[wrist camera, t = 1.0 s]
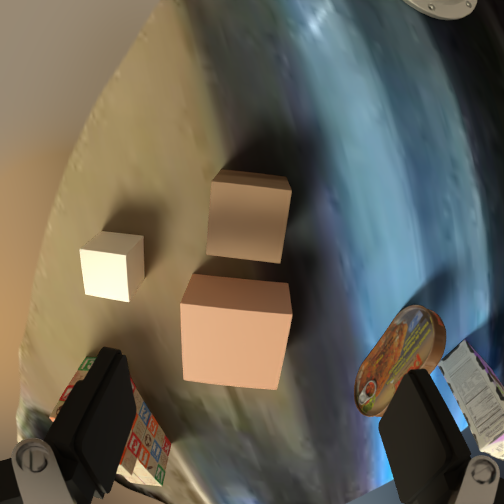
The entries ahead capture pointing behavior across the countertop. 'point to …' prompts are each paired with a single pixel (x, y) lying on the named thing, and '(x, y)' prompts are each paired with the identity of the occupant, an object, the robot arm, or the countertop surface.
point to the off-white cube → (113, 265)
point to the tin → (399, 357)
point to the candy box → (477, 396)
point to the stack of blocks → (134, 438)
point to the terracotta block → (234, 331)
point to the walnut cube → (248, 215)
